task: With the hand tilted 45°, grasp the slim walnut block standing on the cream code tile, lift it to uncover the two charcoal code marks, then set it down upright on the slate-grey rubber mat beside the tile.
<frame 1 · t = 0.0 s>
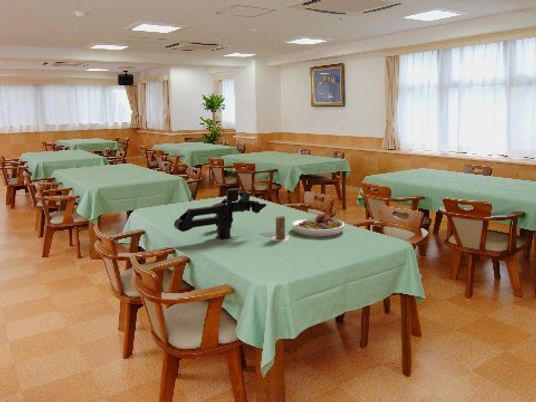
hand: (262, 203, 283), 17 cm above the table, tool horizontal, fingers open, 9 cm apart
bowl: (318, 232, 284), on the table
code tile: (280, 238, 269), on the table
walnut block: (280, 238, 269), resting on code tile
rest mat: (270, 234, 278), on the table
food container: (222, 229, 292), on the table
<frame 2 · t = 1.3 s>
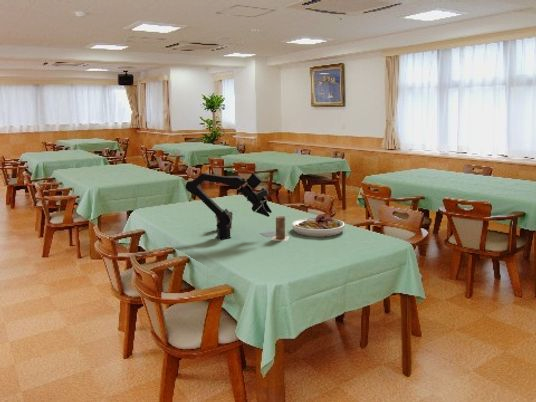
hand: (270, 214, 267), 14 cm above the table, tool tilted 45°, fingers open, 9 cm apart
nothing on the table moved.
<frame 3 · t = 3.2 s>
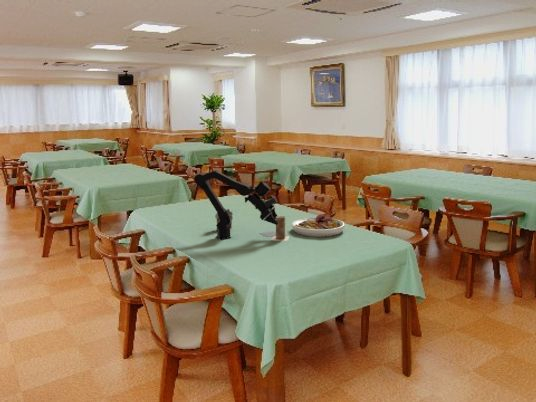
hand: (278, 222, 267), 9 cm above the table, tool tilted 45°, fingers open, 9 cm apart
nothing on the table moved.
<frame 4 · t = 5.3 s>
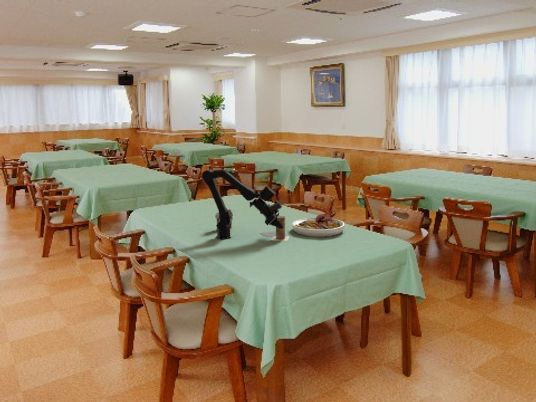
hand: (283, 227, 268), 7 cm above the table, tool tilted 45°, fingers closed on walnut block, 5 cm apart
walnut block: (280, 238, 269), resting on code tile, touching gripper
everything else where it was.
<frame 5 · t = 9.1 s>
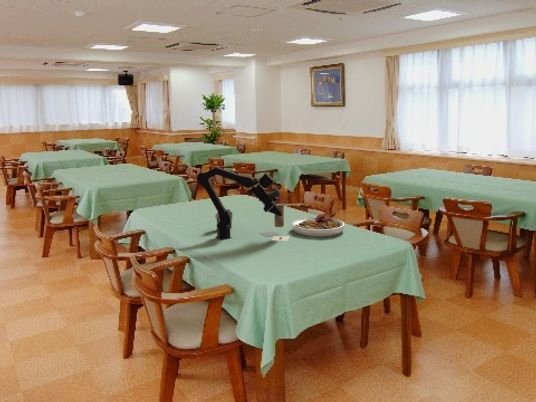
hand: (281, 214, 267), 13 cm above the table, tool tilted 45°, fingers closed on walnut block, 5 cm apart
walnut block: (279, 226, 268), point 7 cm above the table, touching gripper
everything else where it was.
when the fingers open (8 cm above the table, at t = 12.7 s): walnut block stays where it is, resting on rest mat.
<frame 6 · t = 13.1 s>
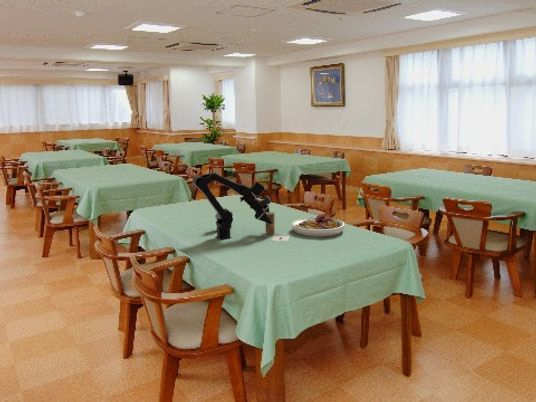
hand: (272, 221, 277), 8 cm above the table, tool tilted 45°, fingers open, 9 cm apart
walnut block: (270, 234, 278), resting on rest mat
everything else where it was.
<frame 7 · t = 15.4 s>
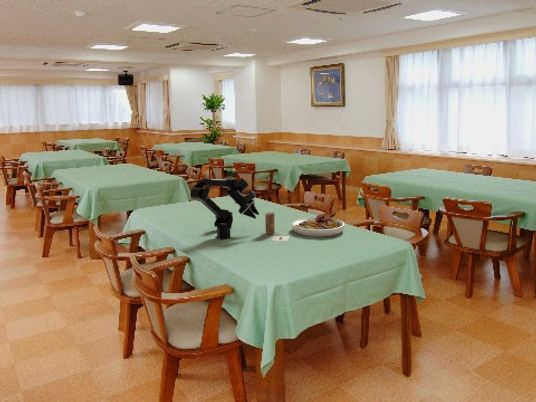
hand: (257, 216, 277), 11 cm above the table, tool tilted 45°, fingers open, 9 cm apart
nothing on the table moved.
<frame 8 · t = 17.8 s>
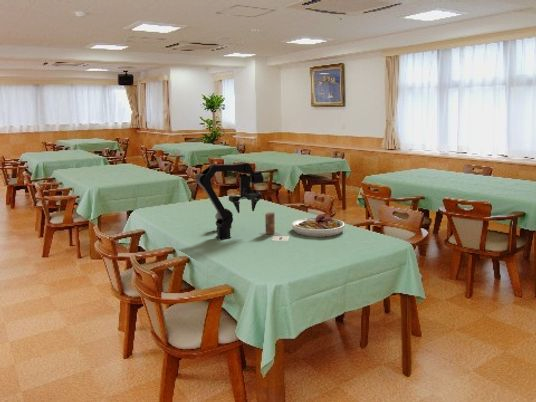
hand: (245, 212, 277), 13 cm above the table, tool pointing down, fingers open, 9 cm apart
nothing on the table moved.
at the end: walnut block inside the target area on the rest mat (0.1 cm from its centre), point 0.4 cm above the rest mat's base; walnut block tilted 0°; walnut block touching rest mat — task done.
